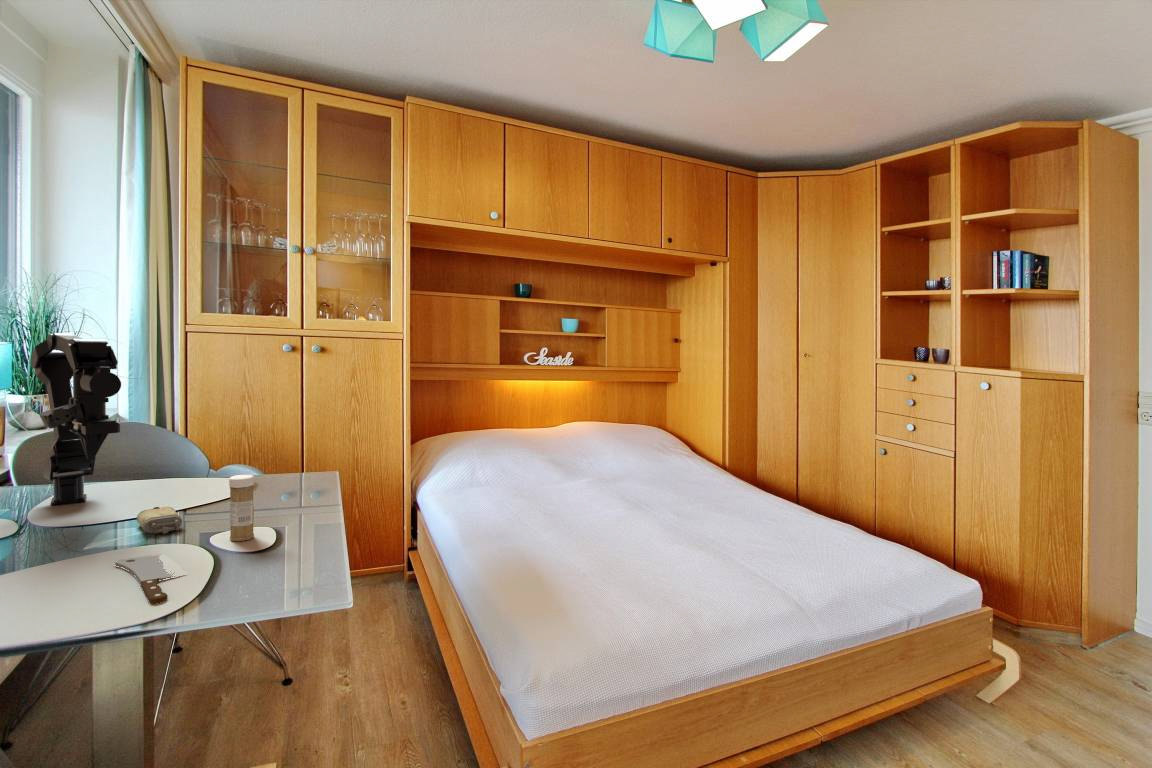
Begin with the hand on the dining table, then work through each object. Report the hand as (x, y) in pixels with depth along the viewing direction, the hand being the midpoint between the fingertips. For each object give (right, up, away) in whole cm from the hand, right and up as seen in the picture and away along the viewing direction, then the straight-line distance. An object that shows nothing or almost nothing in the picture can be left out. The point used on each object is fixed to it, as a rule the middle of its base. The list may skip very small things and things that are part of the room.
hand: (90, 459), depth 135 cm
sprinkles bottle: (+43, -16, -12) cm, 47 cm away
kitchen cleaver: (+40, -17, -33) cm, 54 cm away
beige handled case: (+19, -12, -5) cm, 23 cm away
